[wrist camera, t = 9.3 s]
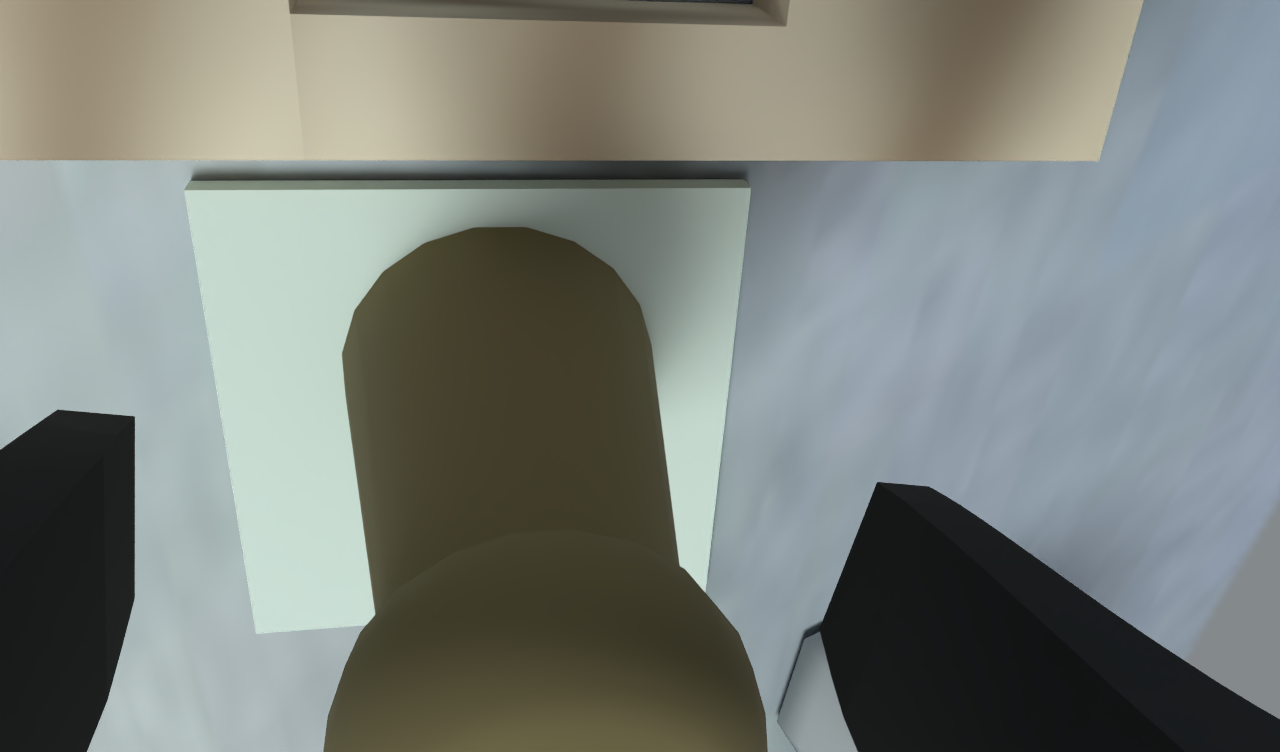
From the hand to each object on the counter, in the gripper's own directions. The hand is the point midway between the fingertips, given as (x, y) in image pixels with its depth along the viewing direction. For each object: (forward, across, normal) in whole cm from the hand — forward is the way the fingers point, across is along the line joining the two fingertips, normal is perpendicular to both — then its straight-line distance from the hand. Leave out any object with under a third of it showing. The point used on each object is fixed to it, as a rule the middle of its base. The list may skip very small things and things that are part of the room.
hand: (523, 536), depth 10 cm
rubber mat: (+10, -1, +5) cm, 11 cm away
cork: (+10, -1, +4) cm, 11 cm away
